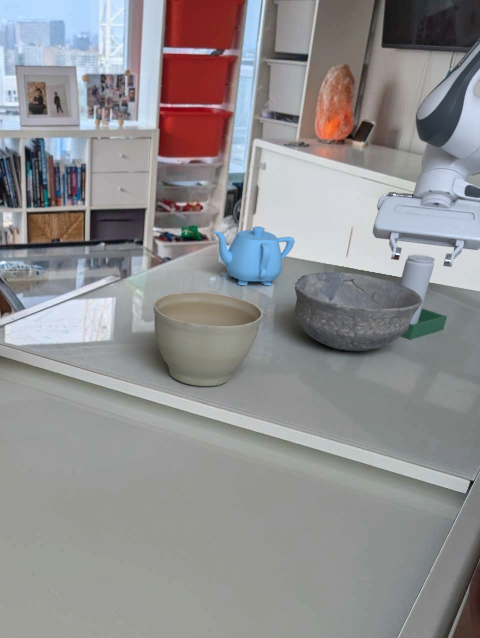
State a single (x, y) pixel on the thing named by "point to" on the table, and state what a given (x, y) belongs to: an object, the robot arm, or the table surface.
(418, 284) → the beverage can
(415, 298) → the bowl
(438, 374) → the table surface
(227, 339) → the planter bowl
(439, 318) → the green tray
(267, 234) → the teapot
